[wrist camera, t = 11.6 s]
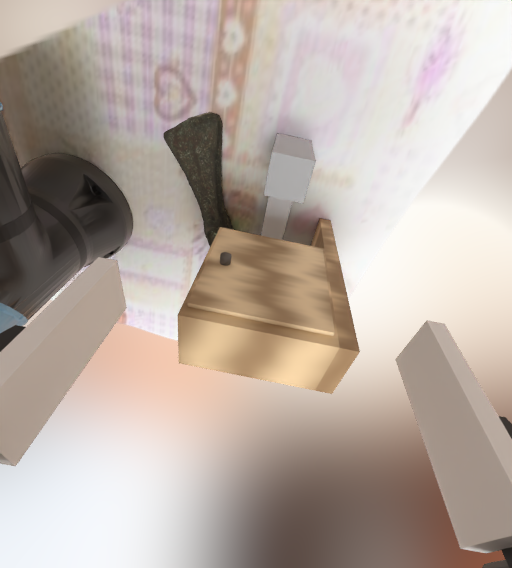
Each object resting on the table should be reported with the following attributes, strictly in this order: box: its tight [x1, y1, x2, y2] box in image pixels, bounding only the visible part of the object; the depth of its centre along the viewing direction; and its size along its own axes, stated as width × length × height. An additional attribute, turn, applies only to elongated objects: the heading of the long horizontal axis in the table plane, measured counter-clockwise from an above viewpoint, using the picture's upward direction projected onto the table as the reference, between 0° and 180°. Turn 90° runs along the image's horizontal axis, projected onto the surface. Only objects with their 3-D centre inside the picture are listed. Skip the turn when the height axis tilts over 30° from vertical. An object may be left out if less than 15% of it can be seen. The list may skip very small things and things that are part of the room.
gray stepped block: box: [261, 133, 316, 240], centre depth 33 cm, size 4×17×9 cm, turn 171°
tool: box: [164, 112, 233, 247], centre depth 37 cm, size 21×8×3 cm, turn 14°
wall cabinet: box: [178, 218, 360, 394], centre depth 30 cm, size 14×7×22 cm, turn 81°
